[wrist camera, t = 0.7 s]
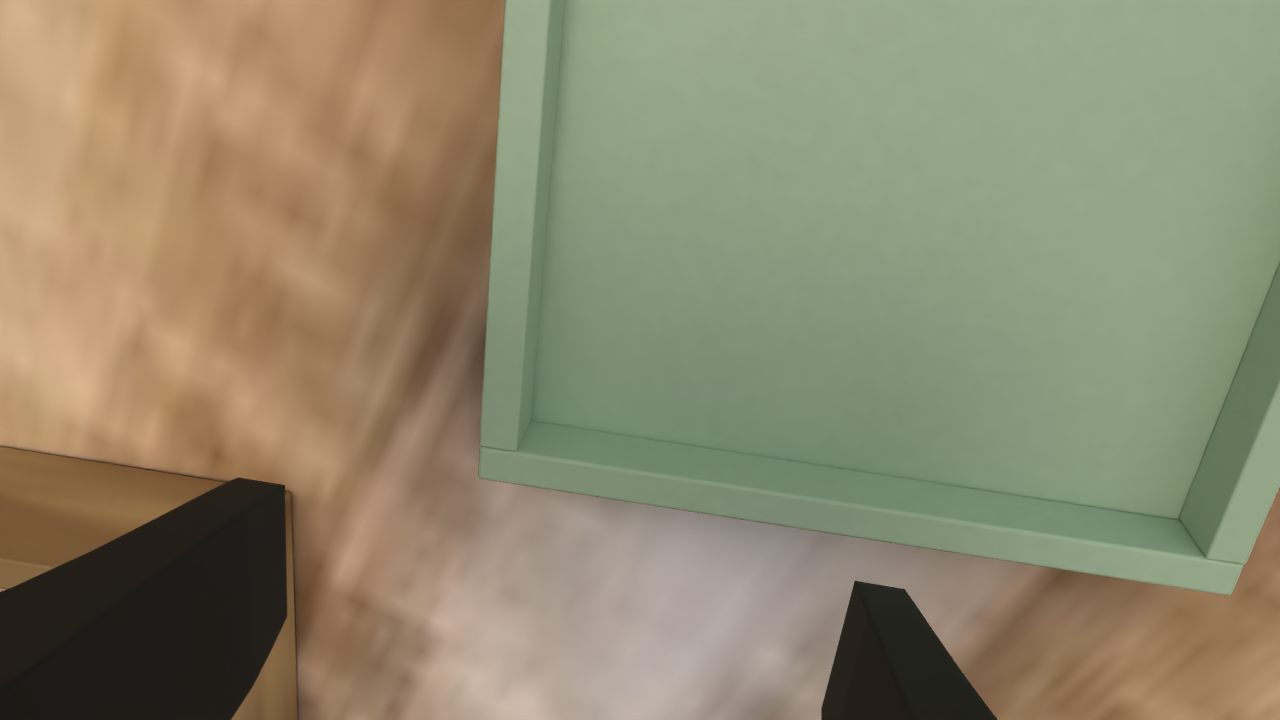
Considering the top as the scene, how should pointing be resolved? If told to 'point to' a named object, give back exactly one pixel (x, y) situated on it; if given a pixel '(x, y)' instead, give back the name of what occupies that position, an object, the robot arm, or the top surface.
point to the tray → (898, 271)
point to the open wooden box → (104, 510)
